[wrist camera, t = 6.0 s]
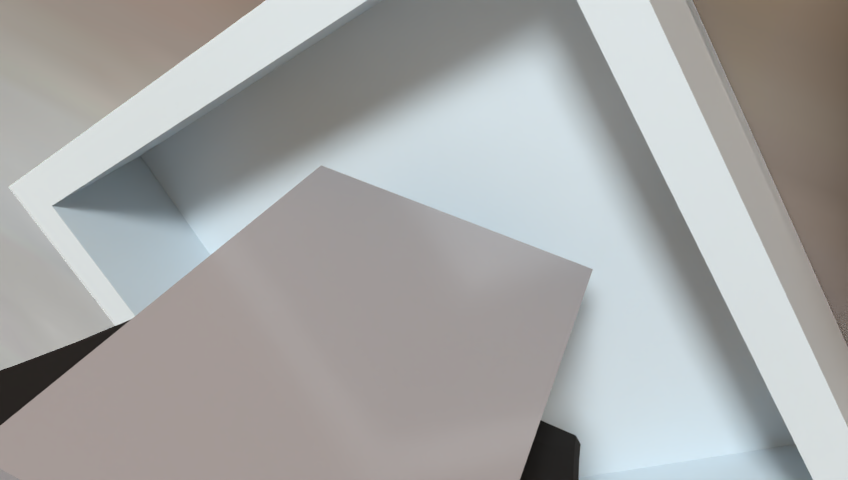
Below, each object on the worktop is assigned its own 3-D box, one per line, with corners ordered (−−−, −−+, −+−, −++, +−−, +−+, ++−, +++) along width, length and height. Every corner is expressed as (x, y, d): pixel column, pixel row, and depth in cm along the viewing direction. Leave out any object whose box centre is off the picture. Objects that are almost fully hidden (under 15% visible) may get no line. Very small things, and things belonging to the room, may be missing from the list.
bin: (888, 437, 13) (921, 583, 10) (390, 512, 19) (337, 615, 16) (601, -203, 10) (553, -208, 7) (120, 129, 16) (8, 186, 14)
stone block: (592, 269, 11) (442, 701, 5) (511, 465, 13) (355, 893, 8) (321, 164, 12) (-32, 452, 6) (293, 367, 14) (22, 693, 9)
